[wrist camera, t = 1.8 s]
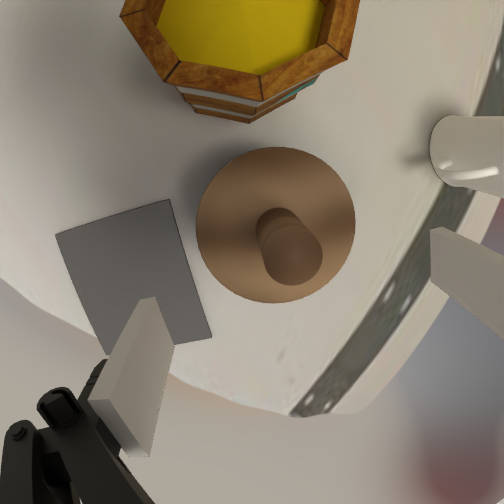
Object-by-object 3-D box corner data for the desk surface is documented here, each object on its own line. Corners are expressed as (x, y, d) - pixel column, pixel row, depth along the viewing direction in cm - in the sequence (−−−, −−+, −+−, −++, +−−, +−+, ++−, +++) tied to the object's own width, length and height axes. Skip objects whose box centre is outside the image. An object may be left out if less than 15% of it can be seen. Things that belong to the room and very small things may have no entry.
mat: (56, 234, 31) (55, 235, 30) (169, 199, 31) (168, 199, 30) (107, 353, 36) (106, 355, 36) (212, 335, 36) (211, 337, 35)
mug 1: (253, 152, 30) (272, 155, 16) (141, 79, 27) (74, 33, 12) (362, 17, 25) (436, -43, 11) (259, -49, 22) (275, -136, 8)
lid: (179, 168, 22) (157, 177, 15) (335, 134, 22) (377, 131, 15) (220, 310, 26) (217, 365, 19) (357, 277, 26) (394, 319, 19)
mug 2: (412, 199, 32) (482, 226, 21) (398, 123, 29) (470, 119, 18) (483, 179, 32) (552, 198, 20) (473, 112, 29) (544, 112, 18)
